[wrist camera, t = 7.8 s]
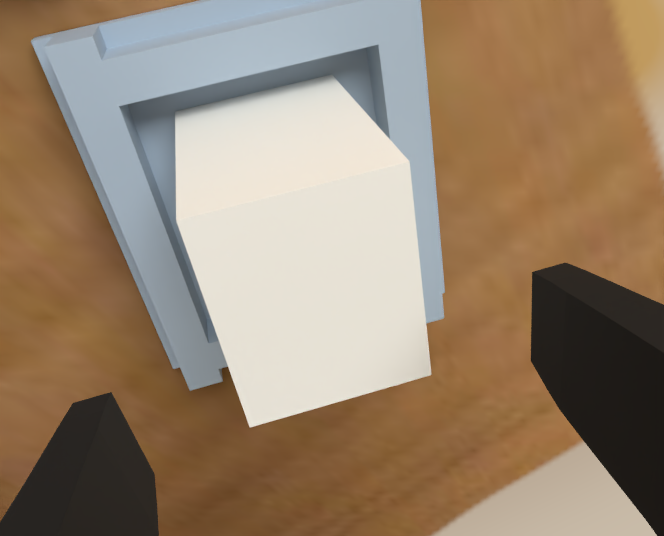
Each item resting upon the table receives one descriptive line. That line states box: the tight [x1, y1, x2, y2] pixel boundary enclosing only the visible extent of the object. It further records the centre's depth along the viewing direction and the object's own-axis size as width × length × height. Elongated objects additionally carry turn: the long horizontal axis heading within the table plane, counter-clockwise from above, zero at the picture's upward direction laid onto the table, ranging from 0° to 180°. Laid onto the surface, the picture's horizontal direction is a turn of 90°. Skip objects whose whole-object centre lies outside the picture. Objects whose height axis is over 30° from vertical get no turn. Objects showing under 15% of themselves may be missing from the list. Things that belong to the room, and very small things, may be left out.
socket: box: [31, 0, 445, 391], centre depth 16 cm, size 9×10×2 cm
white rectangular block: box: [175, 74, 431, 427], centre depth 14 cm, size 4×5×6 cm
